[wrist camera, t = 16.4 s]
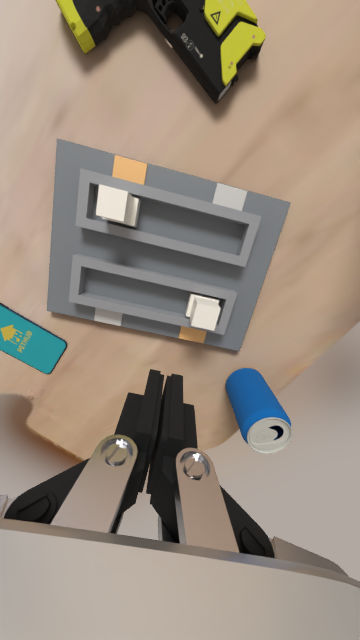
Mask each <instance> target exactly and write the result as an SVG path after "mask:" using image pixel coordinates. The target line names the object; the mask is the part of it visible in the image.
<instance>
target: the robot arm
mask: <svg viewBox="0 0 360 640" xmlns="http://www.w3.org/2000/svg"><path fill="white" fill-rule="evenodd" d="M160 372H161V371H157V370H152V369H150V372H149V376H148V380H147V385H146V389H145V393H144V395H139V394H134V393H128V395H127V398H126V401H125V404H124V407H123V410H122V413H121V416H120V419H119V422H118V425H117V428H116V431H115V434H114V435H111V436H108V437H106V438H105V439H103V440H102V441H101V442H100V443H99V444H98V446H97V447H96V449H95V451H94V452H93V454H92V456H91V457H90V458H89V459H87V460H85V461H83V462H81V463H79V464H77V465H76V466H73V467H71V468H70V469H68V470H66V471H64V472H62V473H60V474H58V475H56V476H54V477H52V478H50V479H48V480H47V481H45V482H43V483H41V484H39V485H37V486H35V487H33V488H31V489H29V490H28V491H26V492H24V493H23V494H21V495H20V496H18V497H17V498H8V495H0V640H360V582H359V581H357V580H355V579H353V578H350V577H348V575H347V574H346V573H345V572H344V571H343V570H342V569H341V568H340V567H339V566H338V565H337V564H335V563H333V562H332V561H330V560H328V559H326V558H323V557H321V556H319V555H317V554H314V553H312V552H309V551H307V550H305V549H302V548H300V547H298V546H295V545H293V544H291V543H288V542H286V541H284V540H282V539H279V538H277V537H274V538H273V539H270V538H268V536H267V535H266V534H265V532H264V531H263V530H262V529H261V527H260V526H259V525H258V524H257V523H256V522H255V521H254V520H253V519H252V518H251V517H250V516H249V515H248V514H247V513H246V512H245V511H244V510H243V509H242V508H241V507H240V505H239V504H237V503H236V501H235V500H234V499H233V498H232V497H231V496H230V495H229V494H228V493H227V492H226V491H225V490H224V489H223V488H222V487H221V486H220V485H219V482H218V478H217V475H216V472H215V468H214V466H213V463H212V461H211V459H210V458H209V457H208V455H206V454H205V453H204V452H203V451H201V450H199V449H198V448H197V436H196V423H195V411H194V406H193V405H190V404H185V403H183V376H181V375H176V374H172V375H171V376H167V379H166V383H165V387H164V391H163V395H162V389H163V381H164V375H162V374H160ZM161 398H162V399H161ZM150 460H151V461H150ZM149 464H150V468H149ZM148 468H149V476H148V483H147V490H146V493H147V494H151V499H150V504H152V506H153V507H154V509H155V510H156V512H157V513H158V514H159V516H158V538H159V540H152V539H145V538H139V537H132V536H125V535H118V534H117V532H118V529H119V526H120V523H121V521H122V518H123V513H124V512H125V511H126V510H127V509H129V508H130V507H131V506H132V505H134V504H135V502H136V499H137V495H138V492H142V491H143V487H144V484H145V480H146V476H147V472H148Z"/></svg>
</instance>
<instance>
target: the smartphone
mask: <svg viewBox="0 0 360 640" xmlns="http://www.w3.org/2000/svg"><path fill="white" fill-rule="evenodd" d="M66 347H67V342H66V341H65V340H63V339H62V338H60V337H58V336H56V335H55V334H53V333H51V332H49V331H48V330H46V329H44V328H42V327H41V326H39V325H37V324H35V323H34V322H32V321H30V320H29V319H27V318H25V317H23V316H22V315H20V314H18V313H16V312H15V311H13V310H11V309H9V308H8V307H7V306H5V305H3V304H1V303H0V350H2V351H4V352H5V353H7V354H9V355H11V356H13V357H15V358H17V359H19V360H21V361H22V362H24V363H26V364H28V365H30V366H32V367H34V368H36V369H38V370H39V371H41V372H43V373H45V374H49V373H51V372H52V370H53V368H54V367H55V365H56V364H57V362H58V360H59V358H60V357H61V355H62V354H63V352H64V350H65V349H66Z"/></svg>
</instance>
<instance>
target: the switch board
mask: <svg viewBox="0 0 360 640" xmlns="http://www.w3.org/2000/svg"><path fill="white" fill-rule="evenodd" d="M99 184H101V185H105V186H108V187H112V188H116V189H120V190H124V191H127V192H129V193H130V194H131V195H132V196H133V197H134V198H138V199H139V200H140V201H141V203H140V209H139V215H138V221H137V227H133V226H129V225H125V224H121V223H117V222H113V221H109V220H106V219H102V217H100V216H98V215H96V208H97V199H98V190H99ZM289 206H290V202H287V201H283V200H280V199H276V198H272V197H269V196H265V195H261V194H258V193H254V192H250V191H247V190H243V189H240V188H236V187H232V186H229V185H225V184H221V183H218V182H214V181H210V180H207V179H203V178H199V177H196V176H192V175H189V174H185V173H181V172H178V171H174V170H170V169H167V168H163V167H159V166H156V165H152V164H148V163H145V162H141V161H138V160H134V159H130V158H127V157H123V156H119V155H116V154H112V153H108V152H105V151H101V150H97V149H94V148H90V147H87V146H83V145H79V144H76V143H72V142H68V141H65V140H61V139H57V149H56V166H55V183H54V199H53V216H52V233H51V250H50V267H49V284H48V301H47V311H51V312H55V313H60V314H65V315H70V316H74V317H79V318H84V319H89V320H93V321H98V322H103V323H108V324H112V325H117V326H122V327H127V328H131V329H136V330H141V331H146V332H151V333H155V334H160V335H165V336H170V337H174V338H179V339H184V340H189V341H193V342H198V343H203V344H208V345H212V346H217V347H222V348H227V349H231V350H236V351H240V348H241V345H242V342H243V339H244V336H245V333H246V330H247V328H248V325H249V322H250V319H251V316H252V313H253V310H254V307H255V304H256V302H257V299H258V296H259V293H260V290H261V287H262V284H263V281H264V278H265V275H266V273H267V270H268V267H269V264H270V261H271V258H272V255H273V252H274V249H275V247H276V244H277V241H278V238H279V235H280V232H281V229H282V226H283V223H284V220H285V218H286V215H287V212H288V209H289ZM190 292H193V293H198V294H202V295H206V296H211V297H215V298H217V299H218V300H219V303H218V305H219V307H220V308H221V309H220V313H219V316H218V319H217V323H216V326H215V329H214V331H213V330H208V329H204V328H199V327H194V326H191V322H190V317H187V316H186V314H185V312H186V308H187V304H188V300H189V296H190Z"/></svg>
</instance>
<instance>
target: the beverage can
mask: <svg viewBox="0 0 360 640" xmlns="http://www.w3.org/2000/svg"><path fill="white" fill-rule="evenodd" d="M226 390H227V393H228V396H229V399H230V402H231V405H232V408H233V411H234V414H235V417H236V420H237V423H238V425H239V428H240V431H241V434H242V437H243V439H244V440H245V441H246V443H248V444H249V446H250V447H251V448H252V449H253V450H254V451H256V452H258V453H263V454H271V453H275V452H278V451H280V450H282V449H283V448H285V447H286V446H287V445H288V444H289V443H290V441H291V439H292V429H291V422H290V419H289V417H288V416H287V414H286V413H285V411H284V410H283V408H282V406H281V405H280V403H279V402H278V400H277V399H276V397H275V395H274V394H273V392H272V391H271V389H270V388H269V386H268V385H267V383H266V382H265V380H264V378H263V377H262V375H261V374H260V373H259V372H258V371H256V370H254V369H251V368H242V369H238V370H236V371H234V372H233V373H232V374H231V375H230V376H229V377H228V379H227V381H226Z"/></svg>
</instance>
